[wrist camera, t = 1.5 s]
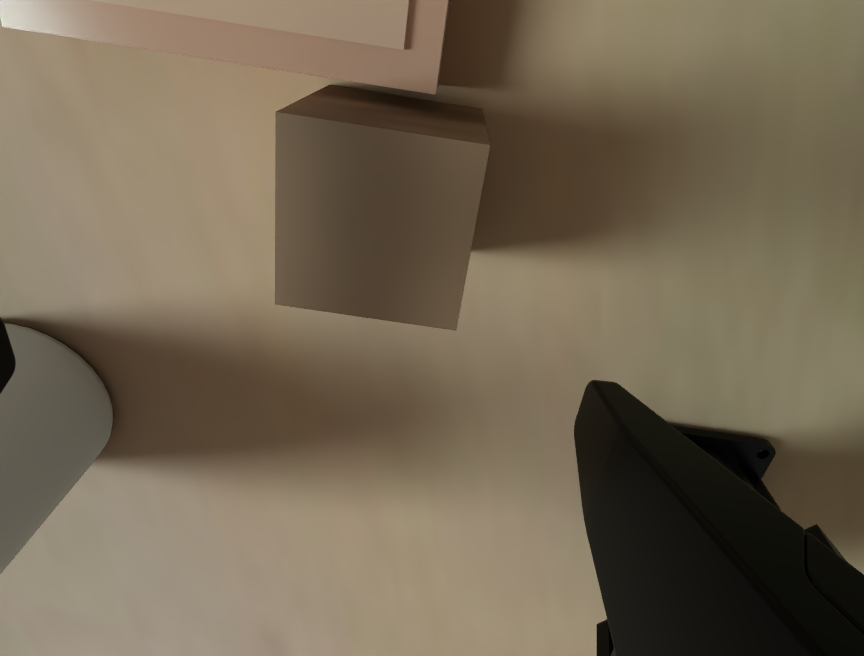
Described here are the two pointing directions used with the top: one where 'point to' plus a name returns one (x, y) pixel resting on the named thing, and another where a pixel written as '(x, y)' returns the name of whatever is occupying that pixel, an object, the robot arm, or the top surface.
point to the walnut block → (377, 204)
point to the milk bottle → (45, 433)
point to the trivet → (264, 33)
